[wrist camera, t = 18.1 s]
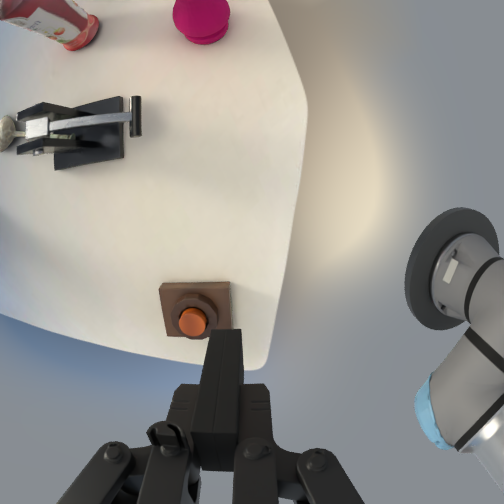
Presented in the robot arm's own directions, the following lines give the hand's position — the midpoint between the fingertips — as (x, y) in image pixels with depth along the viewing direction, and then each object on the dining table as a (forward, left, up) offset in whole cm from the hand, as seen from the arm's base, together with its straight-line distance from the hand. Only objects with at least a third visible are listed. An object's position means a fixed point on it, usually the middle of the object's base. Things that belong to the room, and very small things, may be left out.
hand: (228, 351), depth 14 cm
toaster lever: (+18, -16, -18) cm, 30 cm away
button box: (+7, +11, -26) cm, 29 cm away
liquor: (+24, -34, -27) cm, 49 cm away
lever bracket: (+22, -16, -26) cm, 38 cm away
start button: (+7, +11, -23) cm, 26 cm away
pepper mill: (+4, -30, -27) cm, 40 cm away
